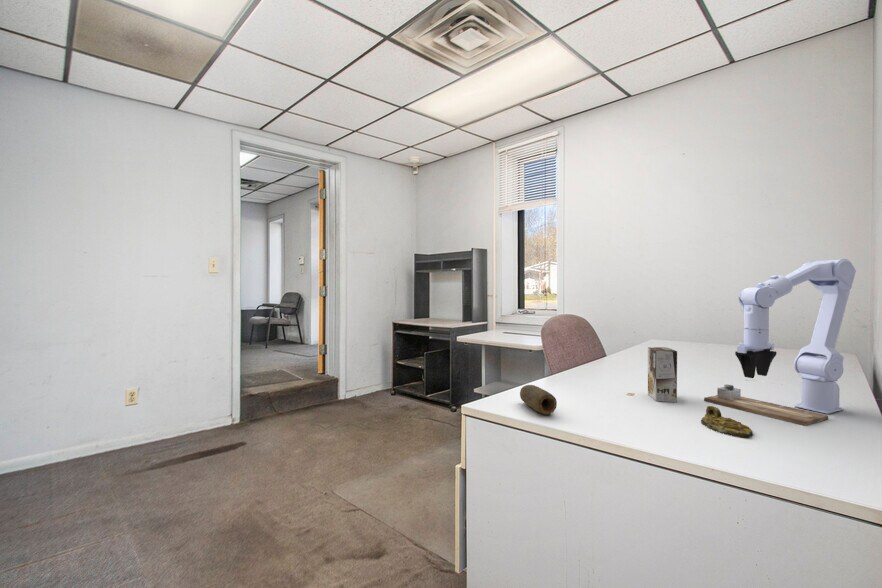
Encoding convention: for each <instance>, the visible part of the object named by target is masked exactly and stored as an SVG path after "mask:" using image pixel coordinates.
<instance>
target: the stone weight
mask: <svg viewBox="0 0 882 588" xmlns="http://www.w3.org/2000/svg"><path fill="white" fill-rule="evenodd" d="M519 398H520V399H521V401H522V402H524V404H525V405H526V406H528V407H530V408H531V409H532V410H534V411H535V412H537V413H539V414H542V415H546V416H547V415H551V414H553V413H554V412H555V410H556V409H557V403H558V402H557V399H556V397H555V396H554V395H553V394H552V393H550V392H549V391H547V390H545V389H543V388H541V387H539V386H537V385H534V384H527V385H526V384H525V385H523V387H521V388H520V392H519Z"/></svg>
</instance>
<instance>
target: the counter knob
mask: <svg viewBox="0 0 882 588" xmlns="http://www.w3.org/2000/svg"><path fill="white" fill-rule="evenodd" d="M734 386H735V385H732V384H724V386H721V387H717V388H716V389H717V398H721V399H726V400H730V401H732V400H737V399H741V397H742V396H741V395H742V394H741V391H742V390H741V388H736V387H734Z"/></svg>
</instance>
